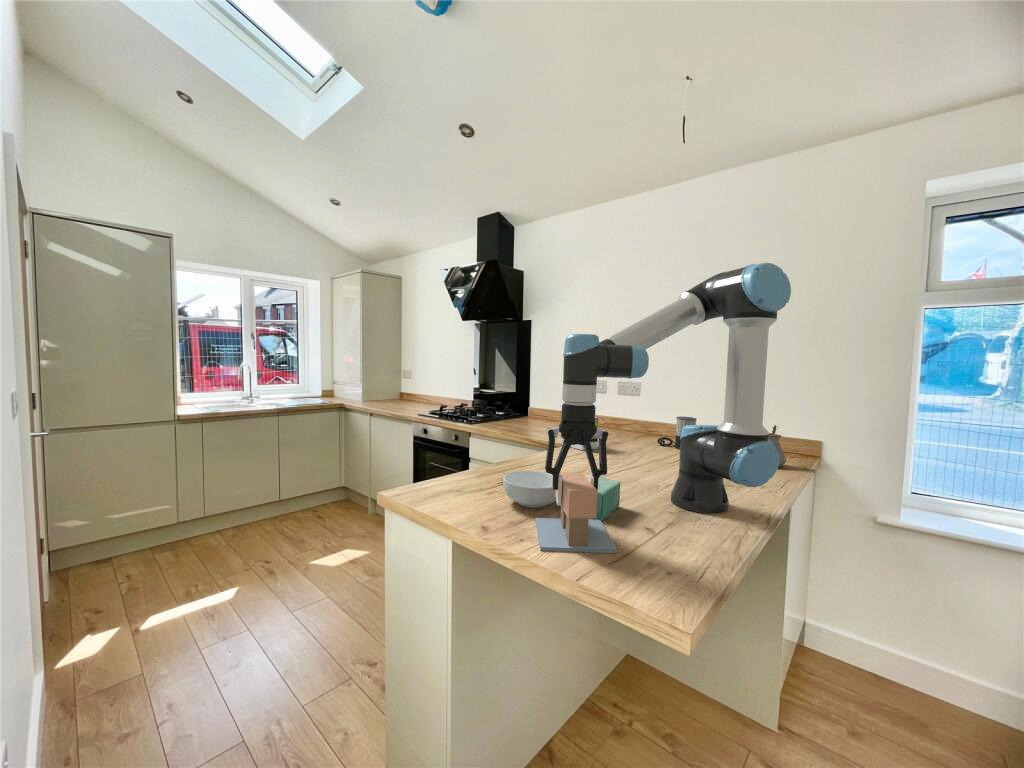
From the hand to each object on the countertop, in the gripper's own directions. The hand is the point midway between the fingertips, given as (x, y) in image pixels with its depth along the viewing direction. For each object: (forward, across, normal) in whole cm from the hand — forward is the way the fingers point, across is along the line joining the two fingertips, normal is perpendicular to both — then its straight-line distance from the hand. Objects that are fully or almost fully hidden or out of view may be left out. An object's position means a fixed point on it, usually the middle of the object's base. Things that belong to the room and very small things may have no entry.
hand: (574, 503), depth 95 cm
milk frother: (+8, -66, -106) cm, 125 cm away
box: (+8, -9, -17) cm, 21 cm away
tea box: (+8, -18, -99) cm, 101 cm away
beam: (+1, 0, 0) cm, 1 cm away
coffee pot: (+8, -95, -78) cm, 124 cm away
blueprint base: (+7, 0, 0) cm, 7 cm away
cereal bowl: (+8, +8, -21) cm, 24 cm away
